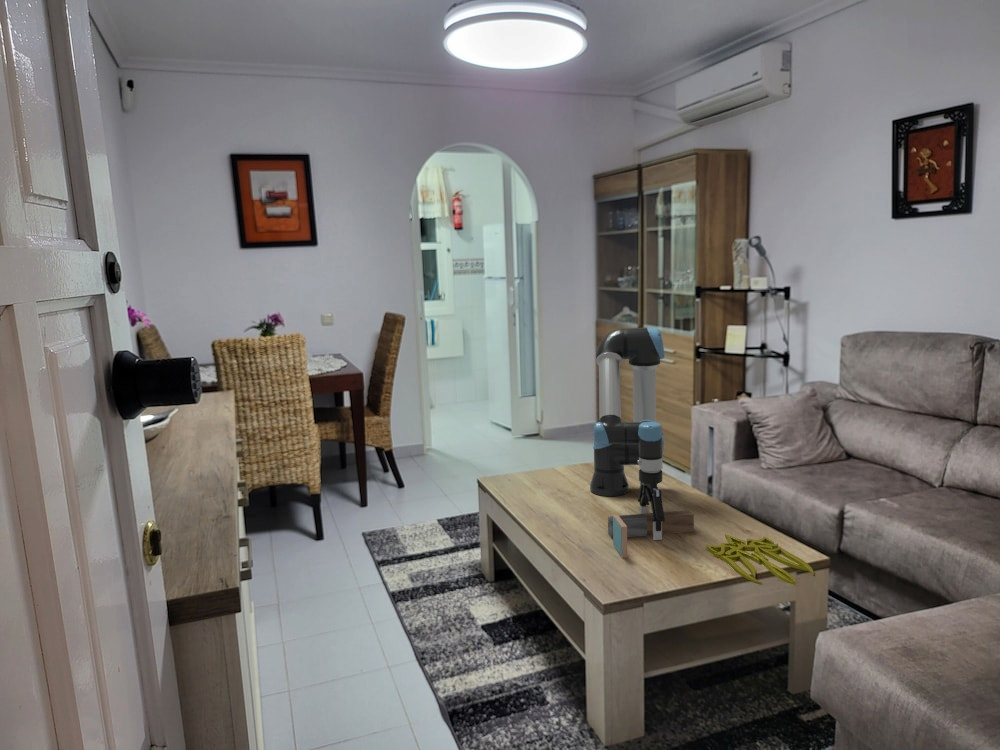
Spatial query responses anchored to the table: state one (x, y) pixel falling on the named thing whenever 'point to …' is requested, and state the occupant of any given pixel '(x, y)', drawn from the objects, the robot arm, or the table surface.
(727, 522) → the table surface
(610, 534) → the brown and grey bar
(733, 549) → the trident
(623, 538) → the tile
